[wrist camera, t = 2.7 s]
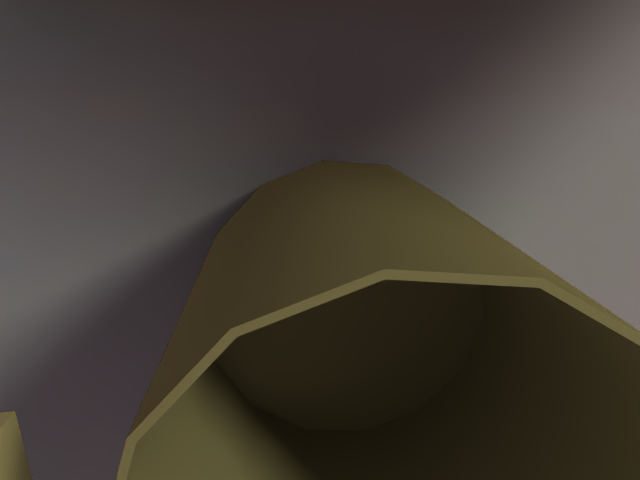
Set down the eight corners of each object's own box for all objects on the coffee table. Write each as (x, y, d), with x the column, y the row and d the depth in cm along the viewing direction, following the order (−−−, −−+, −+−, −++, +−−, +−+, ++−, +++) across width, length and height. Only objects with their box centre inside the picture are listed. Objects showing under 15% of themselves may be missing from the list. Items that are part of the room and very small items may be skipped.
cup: (152, 349, 17) (-10, 678, 8) (287, 106, 16) (297, 134, 6) (389, 462, 19) (502, 855, 9) (533, 250, 17) (852, 457, 8)
